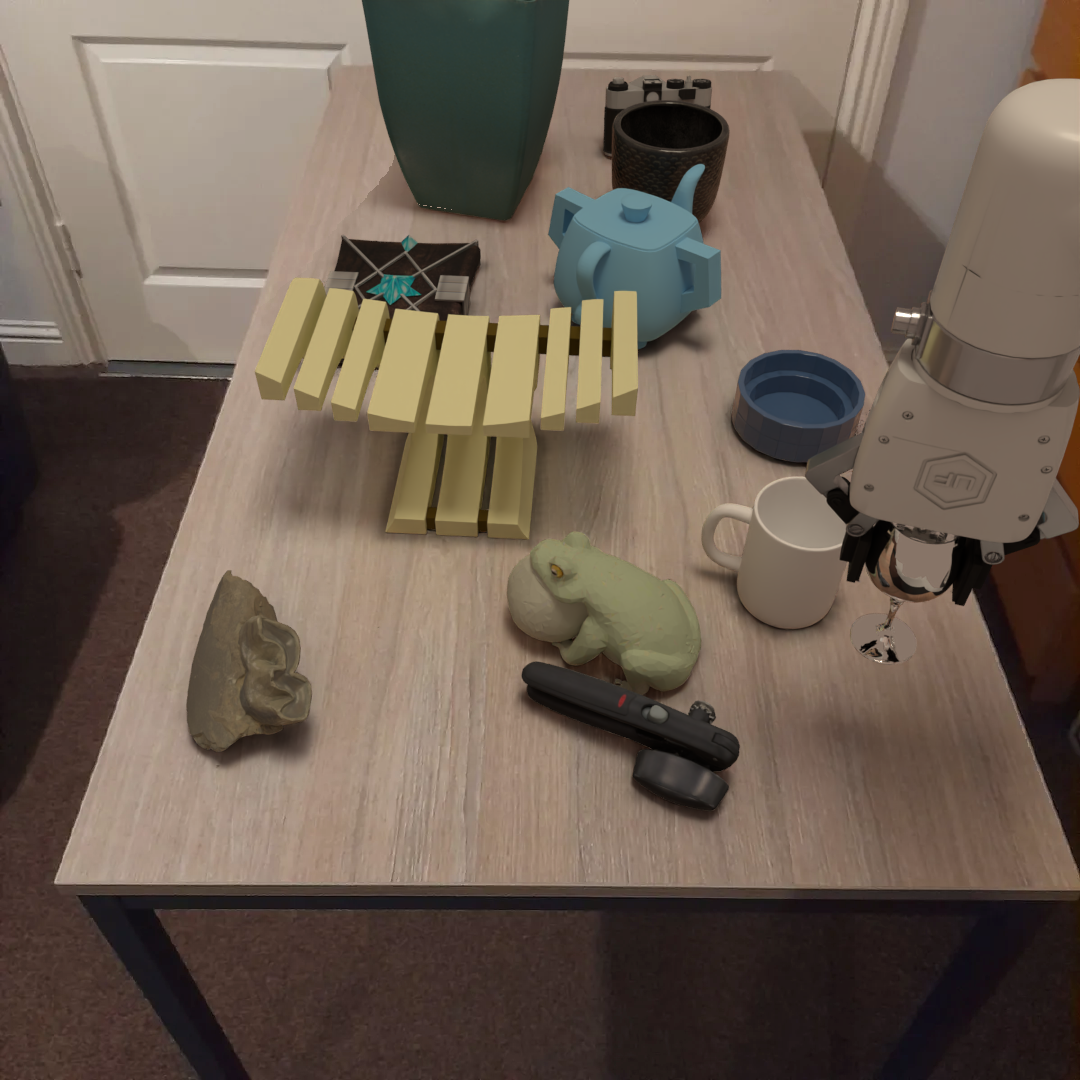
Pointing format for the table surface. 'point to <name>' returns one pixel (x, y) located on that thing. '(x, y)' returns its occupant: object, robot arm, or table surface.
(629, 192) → the teapot
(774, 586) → the cup
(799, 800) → the table surface
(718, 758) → the can opener
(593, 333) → the slatted curved stool
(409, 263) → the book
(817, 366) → the bowl
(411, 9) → the flower pot
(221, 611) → the fossil
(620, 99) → the camera
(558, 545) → the figurine
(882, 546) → the wineglass
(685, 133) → the planter
